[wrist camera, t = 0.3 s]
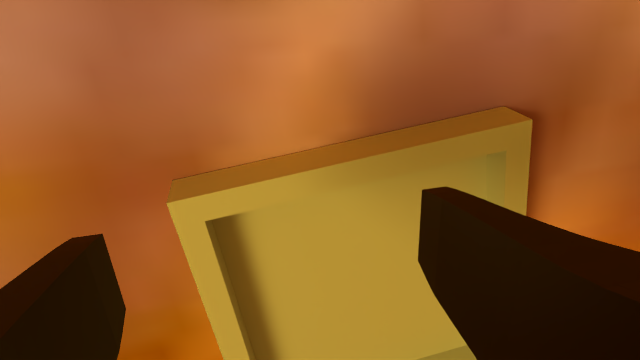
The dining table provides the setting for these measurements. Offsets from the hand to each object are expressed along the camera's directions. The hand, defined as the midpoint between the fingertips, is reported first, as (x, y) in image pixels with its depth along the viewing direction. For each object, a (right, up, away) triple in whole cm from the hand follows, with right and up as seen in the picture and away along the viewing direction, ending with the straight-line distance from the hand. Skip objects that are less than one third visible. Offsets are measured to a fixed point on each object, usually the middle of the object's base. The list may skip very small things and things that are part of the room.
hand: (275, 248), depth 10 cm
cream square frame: (+3, -4, +14) cm, 15 cm away
